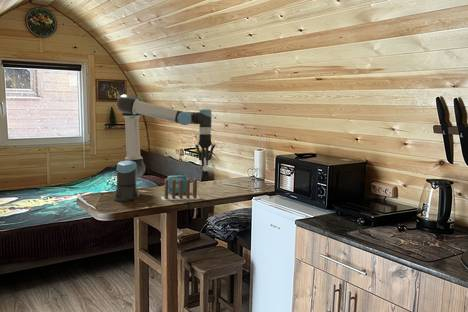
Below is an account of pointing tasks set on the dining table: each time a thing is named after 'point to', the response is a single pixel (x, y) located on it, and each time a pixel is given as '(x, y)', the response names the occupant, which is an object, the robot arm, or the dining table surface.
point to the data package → (176, 183)
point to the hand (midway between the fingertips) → (204, 170)
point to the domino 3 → (180, 188)
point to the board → (179, 198)
